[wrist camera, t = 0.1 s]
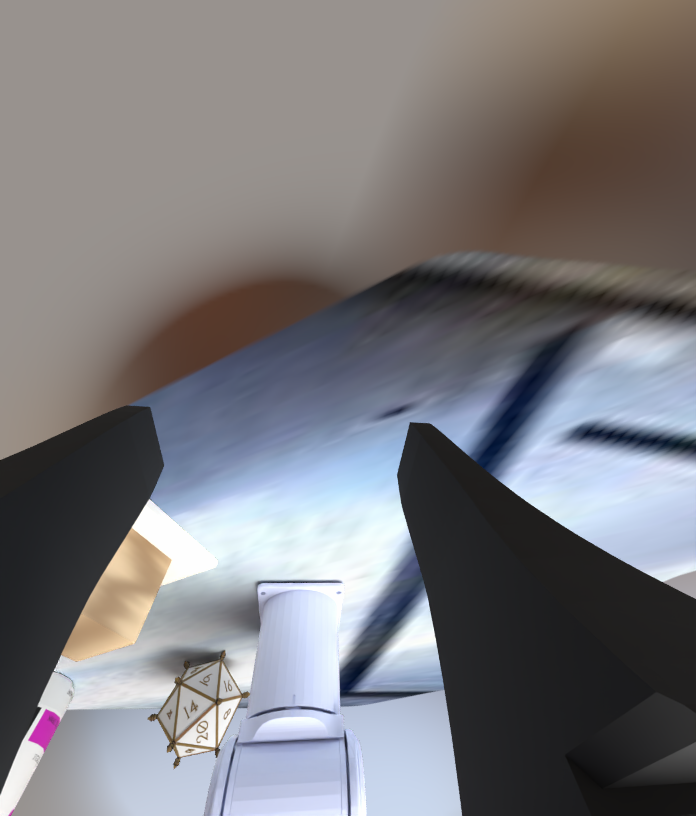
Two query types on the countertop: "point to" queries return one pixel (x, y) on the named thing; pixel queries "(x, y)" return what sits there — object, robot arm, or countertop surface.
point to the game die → (199, 709)
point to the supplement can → (36, 739)
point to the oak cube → (119, 600)
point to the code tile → (173, 544)
